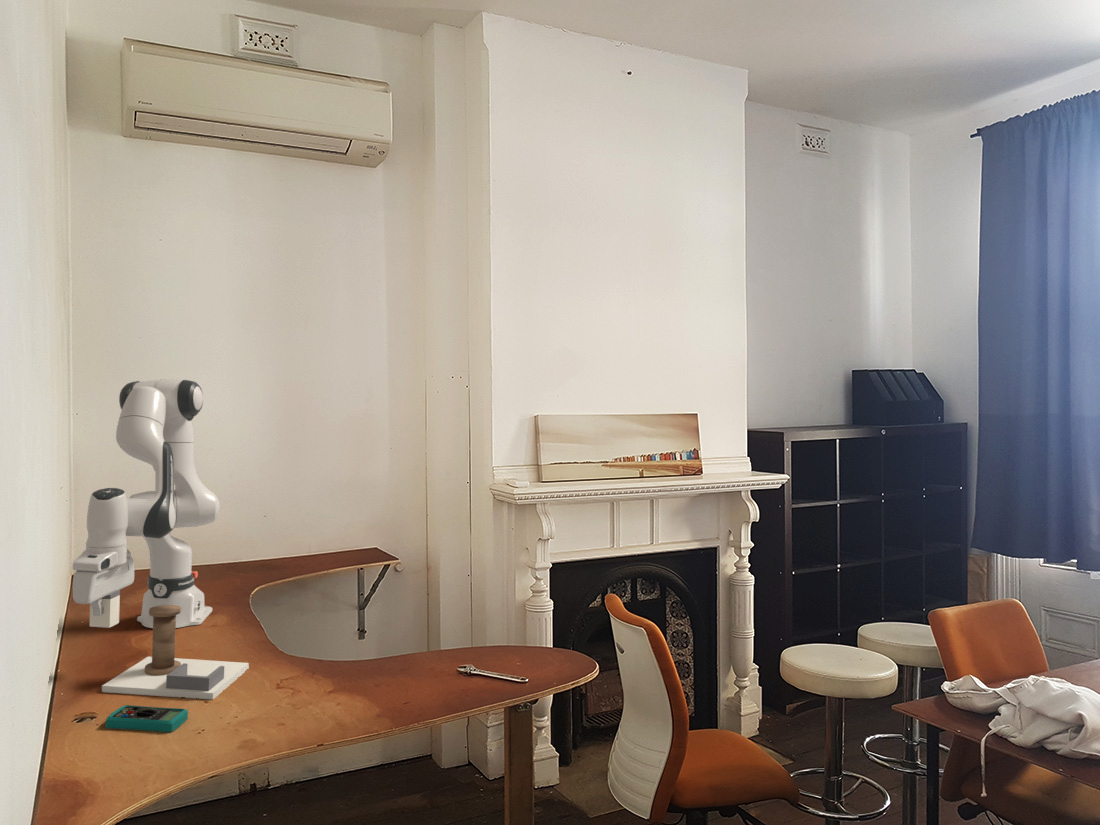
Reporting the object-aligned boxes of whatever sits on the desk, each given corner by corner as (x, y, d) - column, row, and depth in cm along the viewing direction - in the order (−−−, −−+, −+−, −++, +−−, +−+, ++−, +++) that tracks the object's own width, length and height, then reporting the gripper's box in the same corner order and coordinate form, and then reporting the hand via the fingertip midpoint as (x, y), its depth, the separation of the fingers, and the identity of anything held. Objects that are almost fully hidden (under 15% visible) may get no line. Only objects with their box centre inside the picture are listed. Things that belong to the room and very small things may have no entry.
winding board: (148, 662, 207) (148, 644, 207) (248, 668, 206) (249, 651, 206) (101, 692, 187) (102, 672, 187) (212, 699, 186) (213, 680, 186)
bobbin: (155, 662, 203) (157, 603, 202) (186, 664, 203) (189, 605, 202) (137, 674, 195) (139, 612, 195) (170, 676, 195) (172, 614, 194)
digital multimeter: (122, 715, 177) (122, 702, 176) (189, 720, 176) (189, 707, 176) (102, 730, 169) (102, 716, 169) (172, 735, 169) (172, 721, 169)
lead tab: (99, 621, 201) (100, 589, 201) (118, 622, 201) (119, 590, 201) (89, 626, 197) (90, 593, 197) (109, 627, 197) (110, 595, 197)
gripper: (118, 546, 209) (116, 599, 210) (67, 564, 189) (66, 623, 189) (142, 547, 209) (140, 601, 209) (94, 566, 188) (92, 625, 189)
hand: (104, 611), depth 199 cm, fingers closed on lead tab, 4 cm apart
